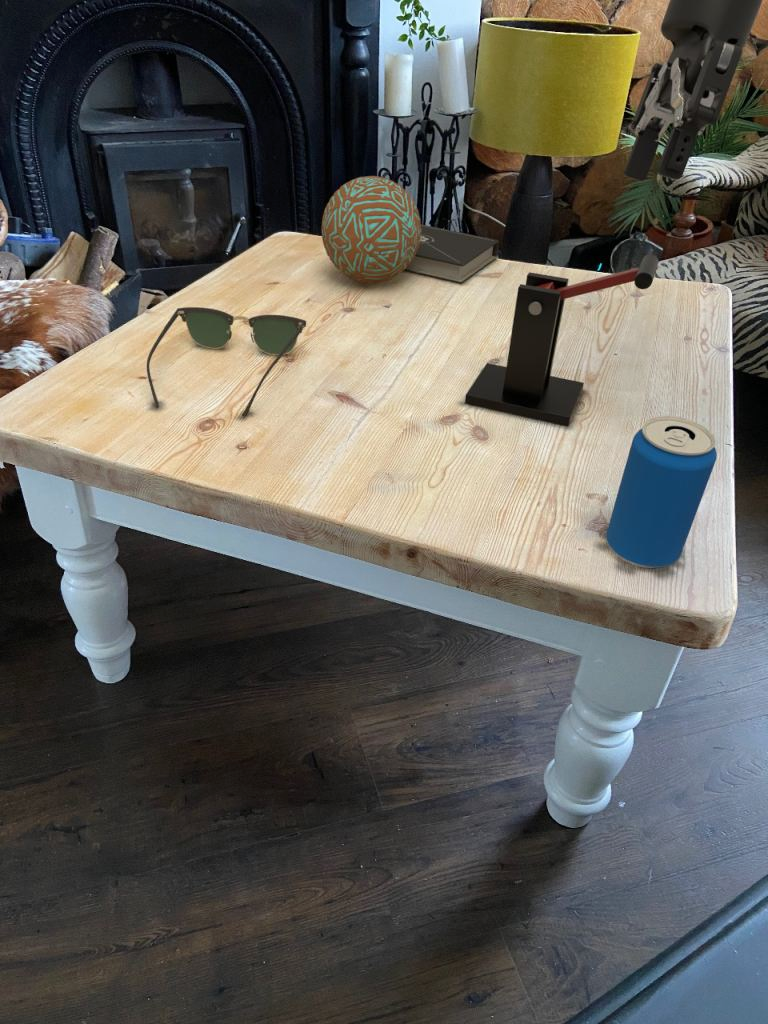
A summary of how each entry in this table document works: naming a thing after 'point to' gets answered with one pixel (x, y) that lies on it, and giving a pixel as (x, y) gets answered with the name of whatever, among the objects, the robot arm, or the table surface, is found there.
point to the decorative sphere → (371, 229)
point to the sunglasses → (216, 332)
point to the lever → (613, 279)
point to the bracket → (530, 360)
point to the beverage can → (661, 490)
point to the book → (452, 254)
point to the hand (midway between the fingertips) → (649, 178)
